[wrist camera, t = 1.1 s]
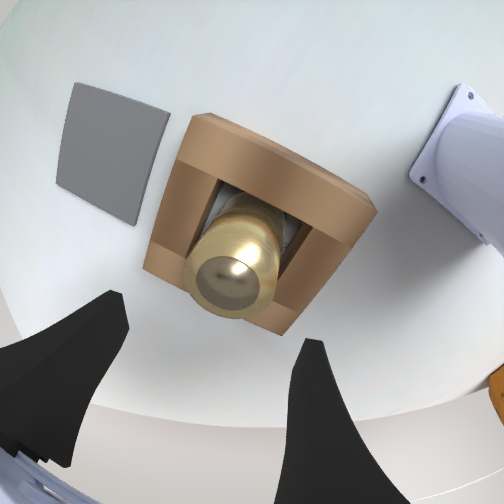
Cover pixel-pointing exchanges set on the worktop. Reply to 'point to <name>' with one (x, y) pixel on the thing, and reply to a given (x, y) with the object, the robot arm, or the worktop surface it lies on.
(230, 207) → the end cover
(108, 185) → the mat
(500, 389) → the coffee package
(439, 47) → the worktop surface
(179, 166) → the housing
